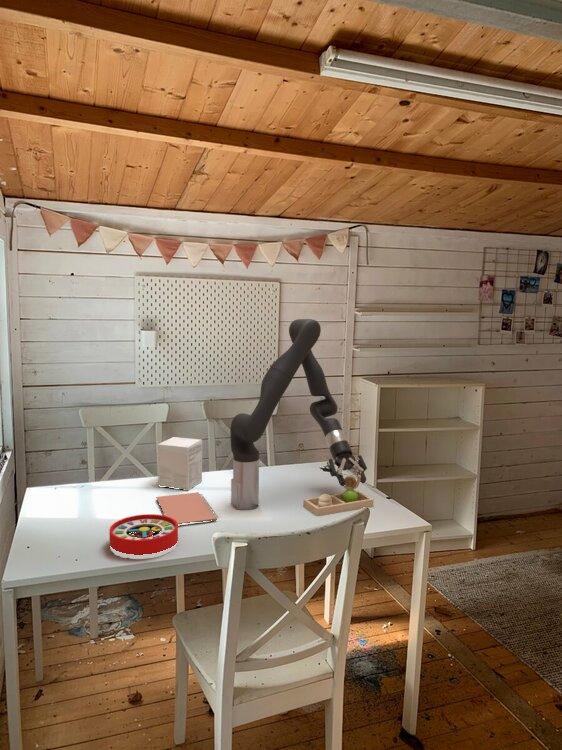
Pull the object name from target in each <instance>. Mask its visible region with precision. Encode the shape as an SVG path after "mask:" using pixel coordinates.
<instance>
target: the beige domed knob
mask: <svg viewBox="0 0 562 750" xmlns="http://www.w3.org/2000/svg"><path fill="white" fill-rule="evenodd" d="M330 495H331V494H330ZM330 495H329V494H328V493H322V494H320V495H319V496H318V497H319V504H318V507H324V506H330V505H332V499H331V497H330Z"/></svg>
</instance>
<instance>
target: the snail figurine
mask: <svg viewBox="0 0 562 750" xmlns="http://www.w3.org/2000/svg"><path fill="white" fill-rule="evenodd" d="M360 474H361V472H360ZM356 477H357V479H356V478H355V477H354V476H352V475H347V476H346V477H345V478H344V480H345V483H346V484H345V485H344V486H343V488H344V489H345V490H344V492H343V500H344V501H345V502H346V503H349V502H355V501H357V499H358V494H357V492H356V491H357V490H356V489H357V488H358V487H359V485H360V482H361V480H360V479H361V475H359V474H358V475H357V476H356Z"/></svg>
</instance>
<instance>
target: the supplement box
mask: <svg viewBox="0 0 562 750" xmlns="http://www.w3.org/2000/svg"><path fill="white" fill-rule="evenodd" d="M157 469H158V470H157V471H158V473H157V475H158V477H157V478H158V480H157V482H158V485H160V486H166V487H174V488H179V489H185V490H188V491H190V490H191V489H193V488H194V487H196V486H197V485H198V483H199V484H200V483H202V482H203V439H199V438H198V439H197V438H189V437H188V438H187V437H178V436H177V437H176V436H172V437H171V438H169V439H166V440H164V441H162V442H159V443H158V444H157ZM201 481H202V482H201ZM196 484H197V485H196ZM158 485H157V486H158ZM195 485H196V486H195ZM193 486H194V487H193ZM192 487H193V488H192ZM190 488H191V489H190ZM189 489H190V490H189Z"/></svg>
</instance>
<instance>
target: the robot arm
mask: <svg viewBox="0 0 562 750" xmlns="http://www.w3.org/2000/svg"><path fill="white" fill-rule="evenodd" d="M321 329H322V328H321V325H320V323H319V321H317V320H316V319H311V318H298V319H294V320H292V321H291V323H290V325H289V327H288V334H289V337H290V340H291V343H292V344H291V346H290V347H289V348H288V349H287V350H286V351H285V352H284V353H283V354H281V355H280V356H279V357H278V358H277V359H276V360H274V361H273V362H272V363H271V365H270V366H269V368H268V370H267V371H266V372H265V375H264V377H263V379H262V382H261V383H260V385H261V387H260V392H259V393H260V394H259V401H258V403H257V405H256V407H254V410H253V411H252V413H250V414H248V413H244V412H243V413H238V414H236V415H235V416H234V417H233V419H232V420H231V424H230V432H229V433H230V448H231V449H230V451H231V453H232V456H233V460H232V461H233V462H232V463H233V468H232V469H233V470H232V471H233V472H232V474H233V477H232V478H231V479H230V487H231V488H230V504H231V506H232V507H233V508H234V509H236V510H241V511H243V510H244V511H245V510H246V511H247V510H248V511H249V510H253V509H257V508H258V507H259V506H260V505H259V502H260V496H259V495H260V452H259V449H257V447H256V446H255V444H254V443H256V442H257V441H259V440H260V439H261V438H262V437H263V435H264V433H265V431H266V430H267V429H266V428H267V426H268V424H269V422H270V420H271V418H272V416H273V413H274V411H275V410H276V408H277V406H278V404H279V402H280V401H281V399H282V397H283V395H284V394H285V393H286V391H287V389H288V387H289V386H290V384H291V382H292V380H293V379H294V376H295V375H296V373H297V372H298V370H299V368H300V367H301V366H302V369H303V371H304V374H305V378H306V382H307V385H308V390H309V393H310V395H311V396H312V397H324V398H323V399H320V400H318V401H316V400H315V401H314V402H312V403H311V404H310V405H309V411H310V415H311V417H312V418H313V419H314V420H315V421H316V422H317V424H318V425H319V427H320V429H321V430H322V433H323V436H324V438H325V441H326V445H327V447H328V450H329V453H330V455H331V457H332V458H329V459H328V460H327V462H326V465H327V468H328V471H329V473H330V476H331V477H336V478H337V481H338V483H339V484H338V485H339V486H341V487H344V486H345V484H346V483H345V480H344V479H345V478H344V475H343V473H342V472H343V471H349V470H350V471H351V470H352V472H355V473H357V474H358V475H361V479H360V482H361V484H365V482H367V477H366V475H365V472H366V470H368V467H367V465H366V463H365V461H364V459H363V457H362V456H363V455H361V454H359V455H358V456H354V455H353V451H352V448H351V446H350V444H349V442H348V438H347V436H346V434H345V432H344V431H343V430H344V429H343V428H342V426H341V424H340V421H339V420H338V419H337V418H334V417H332V416H335V415H336V414H337V412H338V405H337V403H336V401H335V399H334V398H333V396H332V394H331V392H330V389H329V386H328V384H327V383H328V382H327V380H326V375H325V372H324V370H323V368H322V366H321V365H320V363H319V362H318V360H317V358H316V357H315V355H314V353H313V350H312V349H313V347H314V346H315V344H317V342H318V340H319V338H320V336H321V331H322V330H321ZM328 417H331V418H328ZM336 466H337V469H336ZM360 472H361V474H360Z"/></svg>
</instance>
